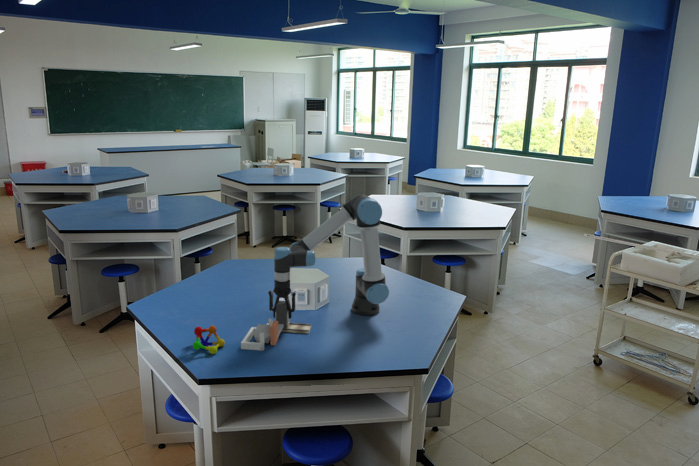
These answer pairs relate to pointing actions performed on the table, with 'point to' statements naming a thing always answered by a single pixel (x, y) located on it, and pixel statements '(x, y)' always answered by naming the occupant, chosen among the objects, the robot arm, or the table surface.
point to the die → (265, 330)
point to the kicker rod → (278, 321)
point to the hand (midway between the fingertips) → (282, 323)
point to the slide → (297, 328)
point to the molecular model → (204, 343)
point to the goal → (254, 345)
